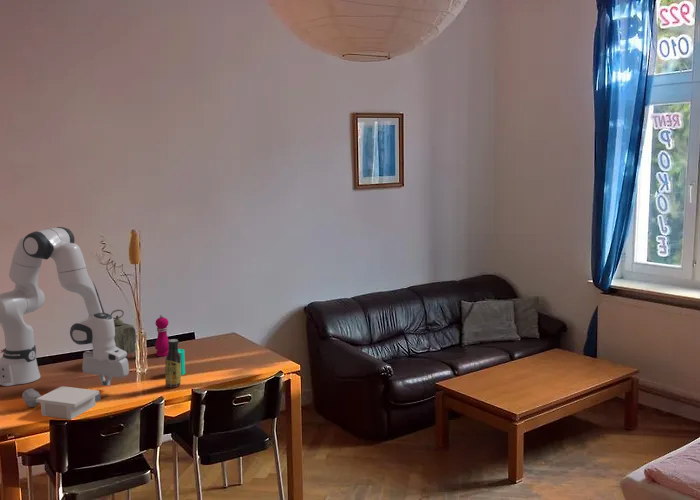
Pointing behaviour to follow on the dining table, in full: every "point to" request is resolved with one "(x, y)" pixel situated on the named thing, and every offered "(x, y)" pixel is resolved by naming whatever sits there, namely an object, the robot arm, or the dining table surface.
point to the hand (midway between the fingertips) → (106, 384)
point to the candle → (182, 360)
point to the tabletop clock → (124, 335)
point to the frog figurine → (31, 397)
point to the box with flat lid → (67, 402)
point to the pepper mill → (162, 337)
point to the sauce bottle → (173, 365)
